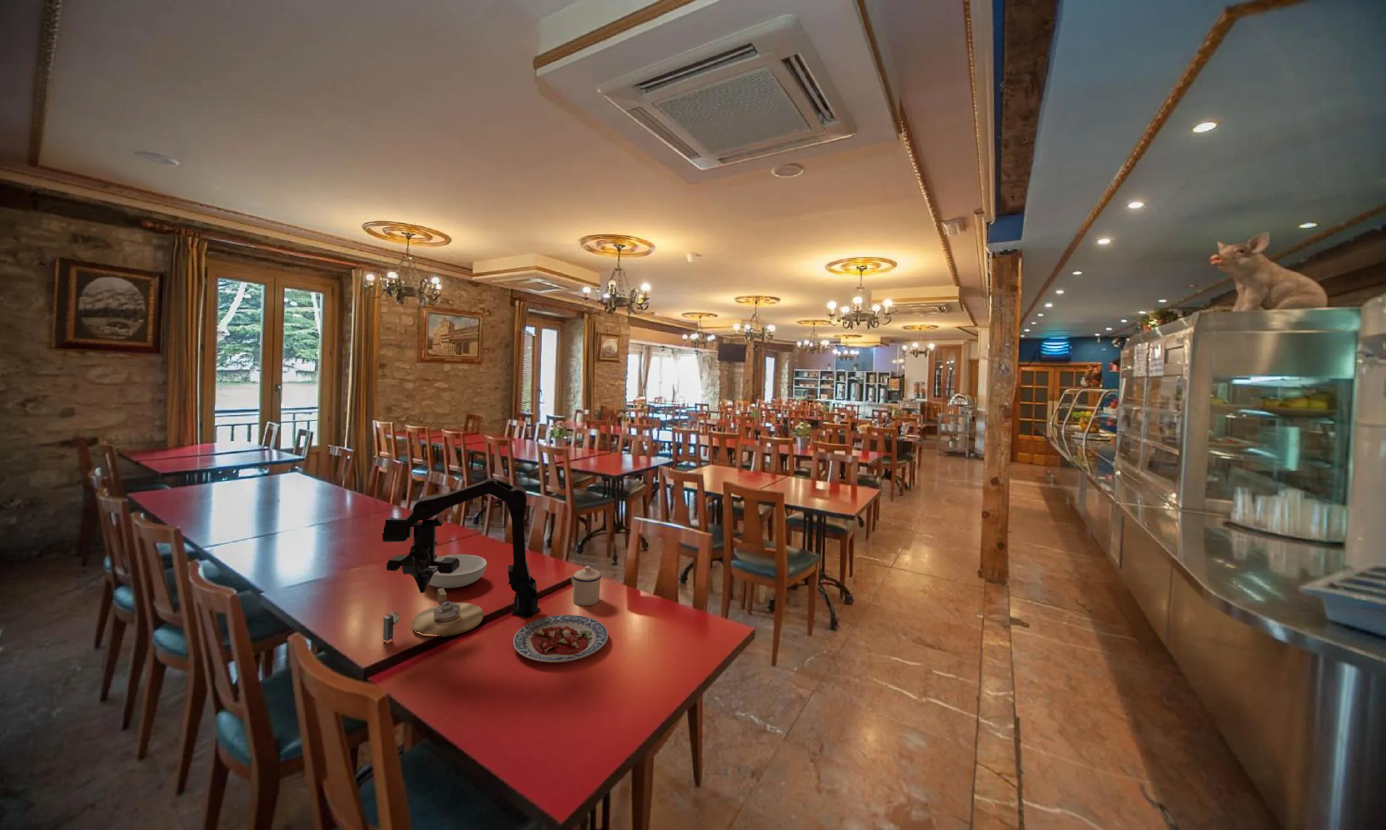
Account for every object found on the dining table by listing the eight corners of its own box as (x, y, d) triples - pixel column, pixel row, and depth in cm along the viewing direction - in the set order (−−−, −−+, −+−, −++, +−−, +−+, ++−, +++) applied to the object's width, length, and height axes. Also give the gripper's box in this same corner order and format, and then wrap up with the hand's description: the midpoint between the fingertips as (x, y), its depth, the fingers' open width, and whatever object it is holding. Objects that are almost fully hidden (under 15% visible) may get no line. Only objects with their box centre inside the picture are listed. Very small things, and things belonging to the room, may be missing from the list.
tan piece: (497, 613, 154) (497, 598, 154) (449, 642, 136) (449, 625, 136) (443, 601, 161) (444, 585, 160) (391, 627, 143) (392, 610, 142)
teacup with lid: (605, 600, 169) (607, 566, 169) (584, 609, 162) (586, 574, 161) (581, 590, 177) (583, 557, 176) (561, 598, 169) (562, 564, 169)
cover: (465, 614, 150) (465, 601, 150) (446, 624, 144) (447, 610, 143) (446, 609, 153) (447, 596, 152) (427, 619, 146) (428, 606, 146)
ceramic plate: (508, 674, 125) (509, 662, 125) (516, 625, 150) (516, 615, 150) (612, 664, 132) (612, 653, 132) (603, 619, 157) (603, 609, 157)
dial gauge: (398, 640, 137) (399, 612, 137) (390, 644, 135) (391, 616, 134) (388, 637, 138) (389, 609, 138) (380, 641, 136) (381, 613, 135)
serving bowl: (469, 597, 166) (470, 577, 165) (407, 593, 166) (407, 573, 166) (495, 573, 187) (496, 555, 186) (440, 570, 187) (440, 552, 187)
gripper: (375, 547, 138) (373, 602, 139) (443, 551, 139) (442, 606, 140) (397, 535, 149) (396, 586, 150) (461, 539, 150) (459, 589, 151)
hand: (422, 592), depth 148 cm, fingers closed
